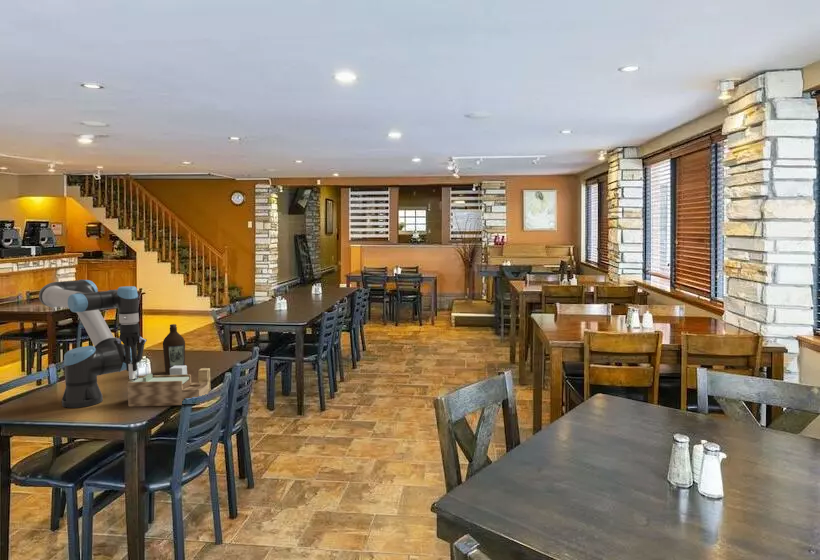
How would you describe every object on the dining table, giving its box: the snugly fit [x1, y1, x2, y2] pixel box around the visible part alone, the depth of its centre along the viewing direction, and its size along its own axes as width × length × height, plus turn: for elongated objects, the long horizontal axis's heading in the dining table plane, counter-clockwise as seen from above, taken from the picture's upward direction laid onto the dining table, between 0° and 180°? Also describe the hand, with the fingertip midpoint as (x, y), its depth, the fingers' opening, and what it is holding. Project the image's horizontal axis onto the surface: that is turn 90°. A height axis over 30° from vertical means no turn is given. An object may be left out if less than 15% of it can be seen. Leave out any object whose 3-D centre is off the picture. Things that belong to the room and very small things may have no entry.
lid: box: [132, 373, 189, 384], centre depth 248 cm, size 21×9×3 cm, turn 93°
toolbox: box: [126, 373, 209, 407], centre depth 249 cm, size 29×12×10 cm, turn 93°
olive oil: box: [162, 323, 186, 375], centre depth 299 cm, size 11×11×25 cm
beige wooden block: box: [197, 367, 212, 393], centre depth 264 cm, size 4×4×10 cm
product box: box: [170, 364, 188, 375], centre depth 282 cm, size 6×6×7 cm
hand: (132, 378), depth 247 cm, fingers closed
